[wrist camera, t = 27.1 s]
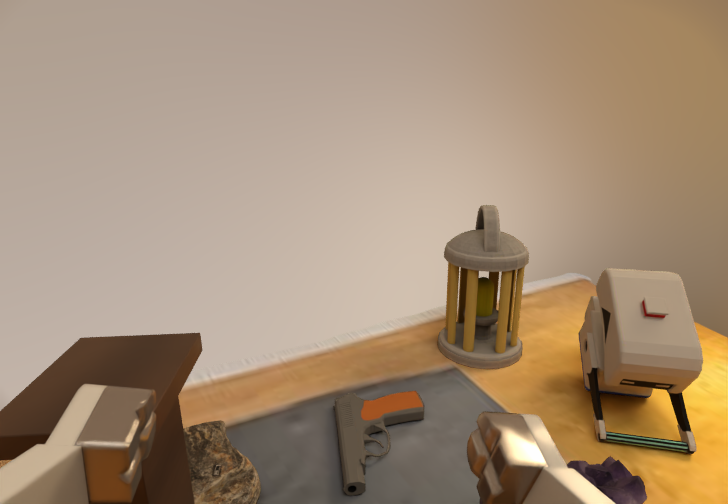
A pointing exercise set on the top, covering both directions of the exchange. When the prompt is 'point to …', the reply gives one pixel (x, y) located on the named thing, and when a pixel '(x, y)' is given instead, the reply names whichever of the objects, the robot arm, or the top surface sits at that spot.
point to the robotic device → (640, 347)
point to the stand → (124, 369)
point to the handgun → (369, 429)
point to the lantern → (483, 295)
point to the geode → (612, 480)
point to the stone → (219, 467)
